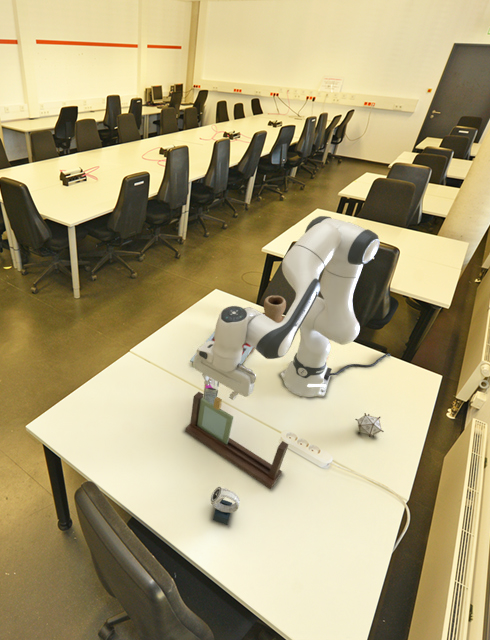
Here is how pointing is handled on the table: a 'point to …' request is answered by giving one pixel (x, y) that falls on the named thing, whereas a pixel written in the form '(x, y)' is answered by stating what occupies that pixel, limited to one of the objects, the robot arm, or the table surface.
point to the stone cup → (274, 308)
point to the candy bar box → (211, 391)
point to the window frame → (238, 451)
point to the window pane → (215, 420)
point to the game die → (369, 425)
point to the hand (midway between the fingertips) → (219, 390)
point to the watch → (223, 504)
